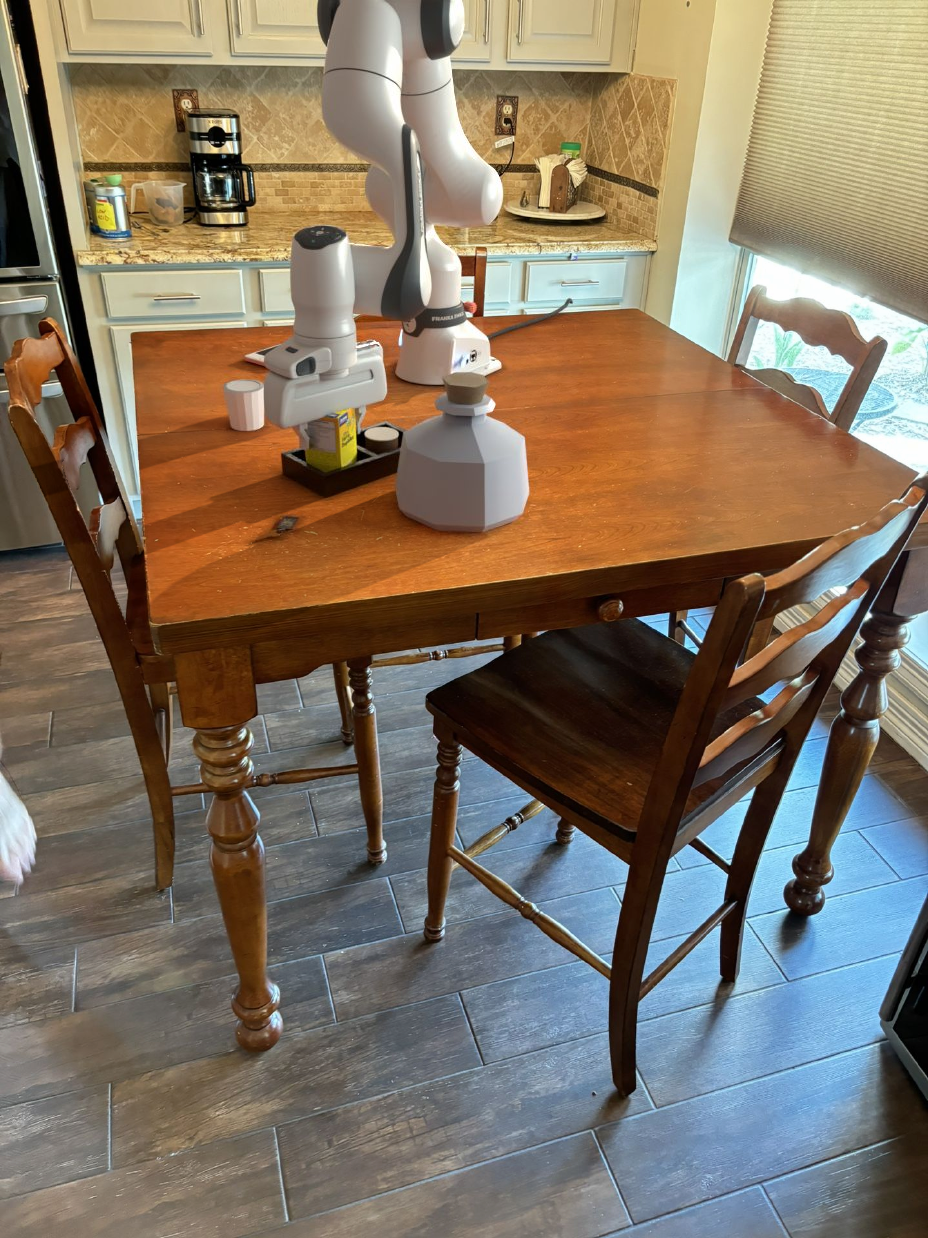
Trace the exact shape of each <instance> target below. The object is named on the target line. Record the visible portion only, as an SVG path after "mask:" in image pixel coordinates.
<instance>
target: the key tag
mask: <svg viewBox="0 0 928 1238" xmlns="http://www.w3.org/2000/svg"><path fill="white" fill-rule="evenodd" d="M298 520H299V516H290V515H284V516H282V518H281V520H280V521H279V523H278V524H277V526H276V529H272V530H271V529H270V530H269V531H268V533H265V535H261V536H259V537H256V538H255V541H256V542H258V541H261V540H264V539H268V538H278V537H280V536H281V535H282V534H283V533H285V532H286V530H289V531H290V530H291V531H293V529H294V527H295V526H296V524H297V522H298Z"/></svg>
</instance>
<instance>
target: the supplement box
mask: <svg viewBox="0 0 928 1238" xmlns="http://www.w3.org/2000/svg"><path fill="white" fill-rule="evenodd" d="M304 430H305V432H306V434H308V435H310V436H312V437H314V443H313V444H314V448H312V449H309V450H305V455H306V463H308V464H310V465H312V466H314V467H316V468H318V469H320V470H321V471H323V472H328V471H331V470H334V469H337V468H340V467H343V466H346V465H349V464H352V463H355V462H357V446H356V422H355V409H351V408H349V409H345V410H342V411H338V412H335V413H331V414H328V415H326V416H324V417H323V418H321V419H317V420H314V421H310V422H307V429H304Z"/></svg>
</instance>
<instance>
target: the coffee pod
mask: <svg viewBox="0 0 928 1238" xmlns="http://www.w3.org/2000/svg"><path fill="white" fill-rule="evenodd" d="M398 435H399V433H398V431H396V430H395V429H392V428H387V427H376V428H371V429H368V430H367V431H365V447H366V449H367V450H369V451H371V452H373V453H375V454H377V455H379V454H382V453H385V452H388V451H391V450H394V449H397V448H398Z"/></svg>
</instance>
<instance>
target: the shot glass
mask: <svg viewBox="0 0 928 1238" xmlns="http://www.w3.org/2000/svg"><path fill="white" fill-rule="evenodd" d="M222 391H223V396H224V401H225V405H226V409H227V415H228V419H229V424H230V427H231V429H233V430H235V431H240V432H251V431H256V430H260V429H261V428H263V427H264V426H265V411H264V382H262V381H259V380H255V379H246V378H245V379H243V378H242V379H234V380H231V381H228V382H226V383H224V384H223V385H222Z"/></svg>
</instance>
